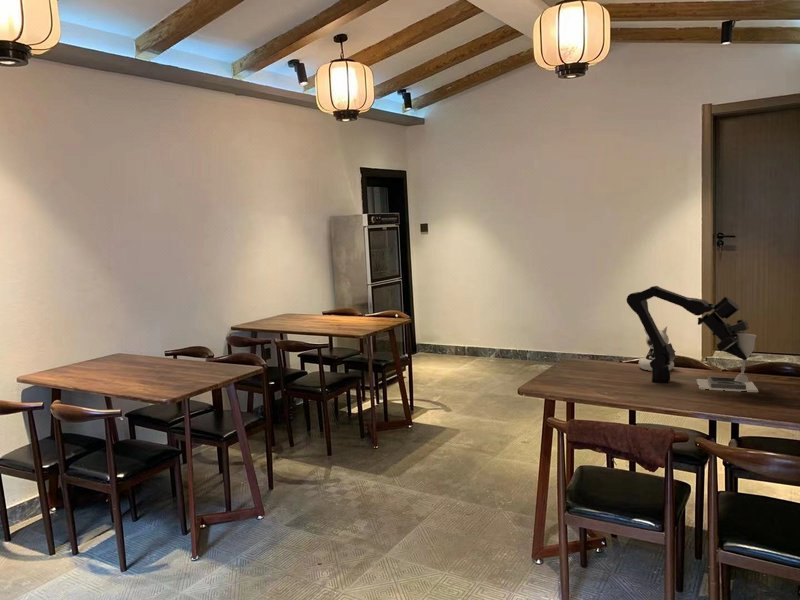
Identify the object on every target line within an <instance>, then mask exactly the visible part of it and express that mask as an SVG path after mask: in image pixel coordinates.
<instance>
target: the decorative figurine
mask: <svg viewBox="0 0 800 600" xmlns="http://www.w3.org/2000/svg"><path fill="white" fill-rule="evenodd" d="M658 330H659V332H660V334H661V336H662V338H663V340H664V341H665V342H666V343H667V344H670V342H669V341H670V340H669V336H668V334H667V331H668V326H665V327H664V328H663V329H662V330H661V329H658ZM643 331H644V333H645V334H646V337H645V342H646V343H645V344H647V346H648V348H649V350H648V351H647V352H648V353H647V354H646V356H645V357H642V358H640V359H639V360H638V366H639V368H640V369H642V370H645V371H647V370H648V372H652V368H651V366H650V362H651V361H652V360H654V359H655V355H654V350H653V344H652V342H651V340H650V338H649V336H648V334H647V332H646V330H645V328H643ZM668 367H669V370H670V371H671V370H673V368H674V367H675V362H674V360H673V361H672V362H671V363H670V365H669V366H668Z"/></svg>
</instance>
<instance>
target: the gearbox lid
mask: <svg viewBox="0 0 800 600" xmlns="http://www.w3.org/2000/svg"><path fill="white" fill-rule="evenodd" d="M735 379H736V377H724V376H709V375H708V376H707V379H705V378H703V379H702V378H696V383H697V386H698V385H699V386H698V388H699V390H705V389H709V391H723V390H725V391H726V392H741V391H747V392H746V393H759V389H758V388H757V387H756V385H755V384H754V382H753V381H749V383H745V382H738V381H734V380H735Z"/></svg>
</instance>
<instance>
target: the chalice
mask: <svg viewBox="0 0 800 600" xmlns="http://www.w3.org/2000/svg"><path fill="white" fill-rule="evenodd" d="M736 334H737V341H738V340H739V347H740V349H741V350H742V351H743V353H744V354H745V356H746V357H747V359H750V357H749V356H750V355H751V356H752V353H753V351H754V350H755V342H756V338H757V336H758V335H756V334H752V333H745V334H743V333H736ZM741 360H742V362H741V367H740V368H739V369H740V371H741V372H740V373H739V374H737V375H736V377H735V378H736V379H735V380H734V381H738V382H745V383H749V382H750V381H749V377H748V376H747V375H746V374H745V370H746V368H745V365H746V360H743V359H741Z"/></svg>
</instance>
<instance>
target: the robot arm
mask: <svg viewBox="0 0 800 600" xmlns="http://www.w3.org/2000/svg"><path fill="white" fill-rule="evenodd" d="M626 297H627V298H626V299H625V300H626V303H627V304H628V307H629V308H630V309H631V310H632V311H633V312H634V313H635V314H636V315H637V316H638V318H639V320H640V322H641V325H642V326H643V329H645V330H646V332H647V334H648V336H649V338H650V340H651V342H652V344H653V350H654V355H655V359H654V360H652V361H651V362H650V366H651V368H652V371H651V383H660V384H662V383H664V384H669V383H670V382H671V370H669V367H668V366H669V365H670V363H671V362H672V361H673V362H674V360H675V359H676V353H677V352H676V350H675V349H674V347H673V344H672V343H671V342H669V343H668V344H667V343H666V342H665V341H664V340H663V338H662V336H661V334H660V332H659V330H660V329H659V328H658V326H657V325H656V323H655V321H654V319H653V317H652V315H651V313H650V311H649V304H648V300H650V299H652V298H653V297H656V298H658V299H660V300H663V301H666V302H669V303H671V304H673V305H677V306H680V307H682V308H683V309H684V310H686V311H687V312H688V313H691V314H692V315H694V316H698V317H697V325H698V326H699V325H702V324H703V323H704V325H706V327H707V328H708V329H709V330H710V331H711V332H712V336H714V337H715V336H716V337H717V339H719V341H720V342H719V343H716V348H717V349H718V351H720V352H722V351H724V353H728V354H730V355H732V356H734V357H737V358H739V359H740V360H742V359H743V360H745V361H747V360H748V358H747V357H746V356H745V354H744V353H743V351H742V350H741V349H740V347H739V340H738V341H737V334H736V333H743V334H746V333H745V332H744V331H746V330H748V329H750V327H749V322H747V320H744V319H738V320H736V323H735V324H730V323H729V322H727V323H726V322H725V321H724V320H723V319H727V320H728V319H729V318H731V317H732V316H733V315H734V314H736V313H737V312H738V311H739V310H741V308H740V306H739V305H738V304H737V302H736V301H734V300H732V299H731V298H729V297H728V296H724V297H723V298H722V299H721V300H720V301H719V302H718V303H716V304H715V303H714V304H713V303H709V301H707V300H706V299H703V298H702V299H701V298H696V297H687V296H684V295H683V294H682V295H681V294H679V293H676V292H673V291H671V290H667V289H665V288H663V287H661V286H658V285H655V286H651V287H649V288H647V289H644V290H642V291H636V292H632V293H630V294H628V296H626ZM710 312H712V313H710ZM704 314H705V315H704ZM702 315H703V316H702ZM701 316H702V317H701ZM751 357H752V354H751V355H750V356H749V358H751Z"/></svg>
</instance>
